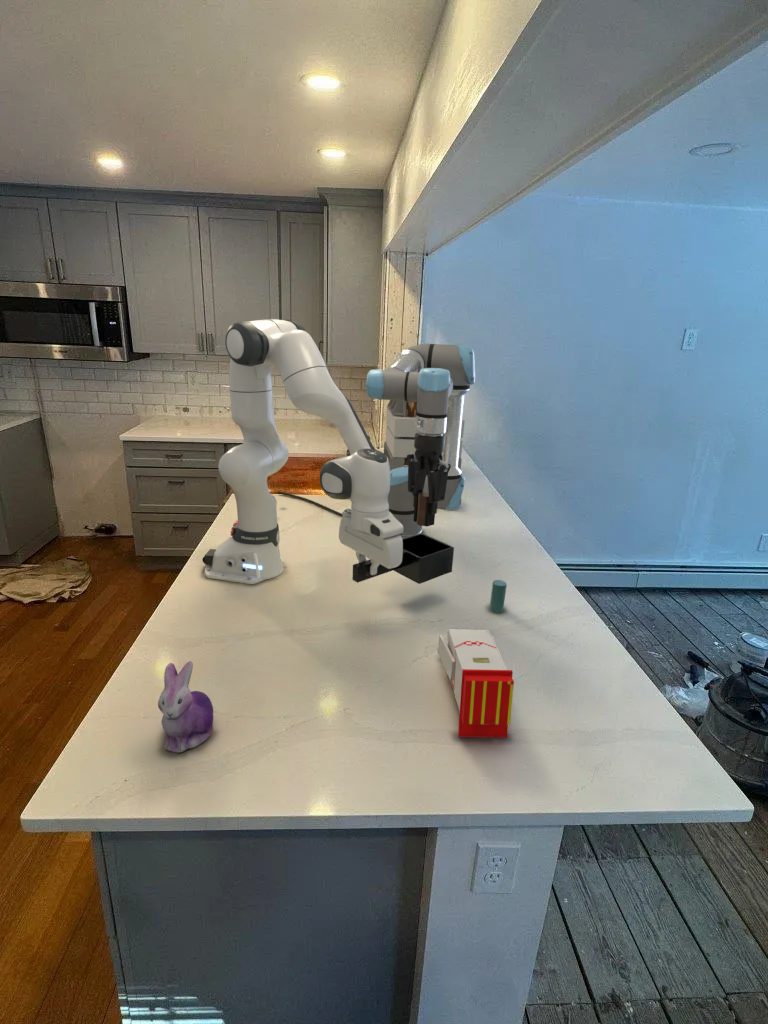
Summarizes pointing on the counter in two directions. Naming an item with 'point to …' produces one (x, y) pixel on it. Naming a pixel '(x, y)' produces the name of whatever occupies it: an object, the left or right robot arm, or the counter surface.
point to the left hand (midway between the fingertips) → (367, 571)
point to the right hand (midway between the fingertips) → (423, 522)
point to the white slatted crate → (404, 433)
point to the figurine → (184, 711)
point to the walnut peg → (422, 508)
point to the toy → (478, 682)
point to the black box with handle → (414, 560)
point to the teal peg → (498, 596)
